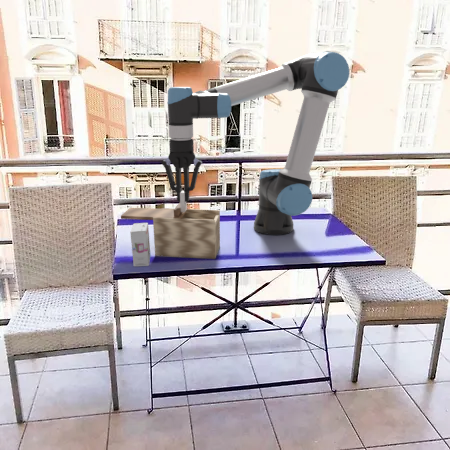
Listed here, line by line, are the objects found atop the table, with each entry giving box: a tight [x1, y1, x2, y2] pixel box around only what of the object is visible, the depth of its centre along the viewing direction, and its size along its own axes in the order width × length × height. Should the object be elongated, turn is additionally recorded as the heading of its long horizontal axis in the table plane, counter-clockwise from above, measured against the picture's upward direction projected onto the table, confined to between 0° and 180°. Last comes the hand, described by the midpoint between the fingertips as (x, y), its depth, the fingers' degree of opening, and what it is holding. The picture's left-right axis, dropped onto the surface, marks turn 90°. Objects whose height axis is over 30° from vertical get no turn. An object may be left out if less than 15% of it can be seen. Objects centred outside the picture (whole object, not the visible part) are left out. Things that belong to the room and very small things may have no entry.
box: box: [152, 207, 221, 260], centre depth 153 cm, size 20×11×13 cm, turn 83°
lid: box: [120, 202, 186, 221], centre depth 153 cm, size 20×10×4 cm, turn 83°
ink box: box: [130, 222, 152, 267], centre depth 146 cm, size 9×5×12 cm, turn 5°
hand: (183, 210), depth 151 cm, fingers closed
